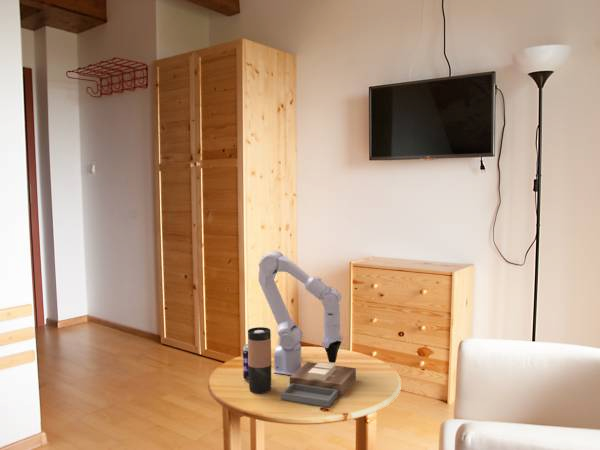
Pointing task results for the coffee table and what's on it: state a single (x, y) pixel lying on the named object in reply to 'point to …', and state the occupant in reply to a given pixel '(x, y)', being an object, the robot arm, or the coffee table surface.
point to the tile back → (326, 366)
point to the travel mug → (259, 359)
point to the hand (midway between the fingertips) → (332, 361)
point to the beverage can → (245, 363)
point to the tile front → (318, 374)
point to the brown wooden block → (336, 380)
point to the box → (309, 395)
